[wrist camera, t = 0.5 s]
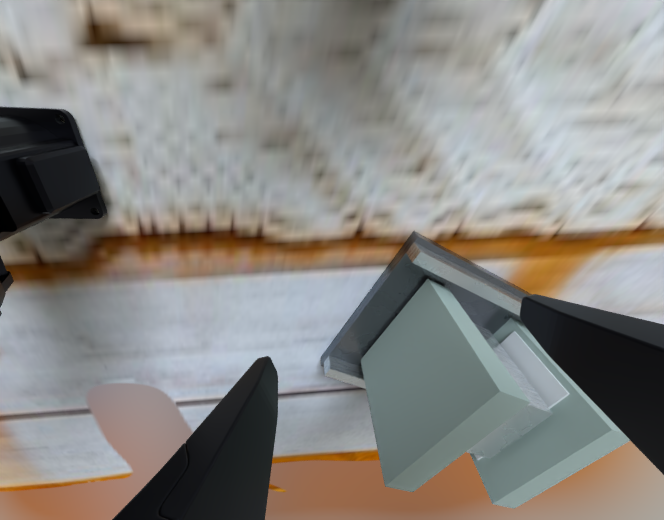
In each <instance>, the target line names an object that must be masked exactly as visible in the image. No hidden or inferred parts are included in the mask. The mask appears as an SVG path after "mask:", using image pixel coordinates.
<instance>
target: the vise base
mask: <svg viewBox="0 0 664 520" xmlns="http://www.w3.org/2000/svg"><path fill="white" fill-rule="evenodd" d="M427 279H429V280H431V281H434V282H436V283H438V284H440V285H442V286H444V287H446V288H448V289H449V290H450V291H451V293H452V294H453V295H454V297H455V298H456V300H457V301H458V302H459V304H460V305H461V307H462V308H463V309H464V311H465V312H466V314H467V315H468V316H469V318H470V319H471V321H472V322H473V323H474V324H476V325H478V326H481V327H483V328H485V329H487V330H489V331H490V332H491V333H492V334H494V333H495V332H496V331H497V330H499V329H500V328H501V327H502V326H503V325H504V324H505V323H506V322H507V321H508V320H509V319H510V318H512V319H514V320H516V321H518V322H520V323H522V321H521V319H520V308H521V302H522V298H523V297H525V296H529V295H532V294H530V293H528V292H526V291H524V290H523V289H521V288H519V287H517V286H515V285H513V284H511V283H510V282H508V281H506V280H504V279H502V278H500V277H498V276H497V275H495V274H493V273H491V272H489V271H487V270H485V269H484V268H482V267H480V266H478V265H476V264H474V263H472V262H471V261H469V260H467V259H465V258H463V257H461V256H459V255H458V254H456V253H454V252H452V251H450V250H448V249H446V248H445V247H443V246H441V245H439V244H437V243H435V242H433V241H432V240H430V239H428V238H426V237H424V236H422V235H420V234H419V233H417V232H415V231H414V232H413V233H412V234H411V236H410V237H409V238H408V240H407V241H406V242H405V244H404V245H403V247H402V248H401V249H400V251H399V252H398V253H397V255H396V256H395V257H394V259H393V260H392V262H391V263H390V264H389V266H388V267H387V268H386V270H385V271H384V272H383V274H382V275H381V276H380V278H379V279H378V281H377V282H376V283H375V285H374V286H373V287H372V289H371V290H370V291H369V293H368V294H367V295H366V297H365V298H364V300H363V301H362V302H361V304H360V305H359V306H358V308H357V309H356V310H355V312H354V313H353V315H352V316H351V317H350V319H349V320H348V321H347V323H346V324H345V325H344V327H343V328H342V329H341V331H340V332H339V334H338V335H337V336H336V338H335V339H334V340H333V342H332V343H331V344H330V346H329V347H328V349H327V350H326V351H325V353H324V354H323V355H322V357H321V366H323V367H324V375H325V376H326V377H330V378H333V379H336V380H339V381H342V382H345V383H348V384H352V385H355V386H358V387H361V388H364V389H366V386H365V381H364V375H363V370H362V365H361V359H362V358H363V356H364V355H365V354H366V353H367V352H368V350H369V349H370V348H371V347H372V345H373V344H374V343H375V342H376V341H377V339H378V338H379V337H380V336H381V335H382V333H383V332H384V331H385V330H386V328H387V327H388V326H389V325H390V324H391V322H392V321H393V320H394V319H395V318H396V316H397V315H398V314H399V313H400V312H401V310H402V309H403V308H404V307H405V305H406V304H407V303H408V302H409V301H410V299H411V298H412V297H413V296H414V295H415V293H416V292H417V291H418V290H419V288H420V287H421V286H422V285H423V284H424V282H425V281H426V280H427Z"/></svg>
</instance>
